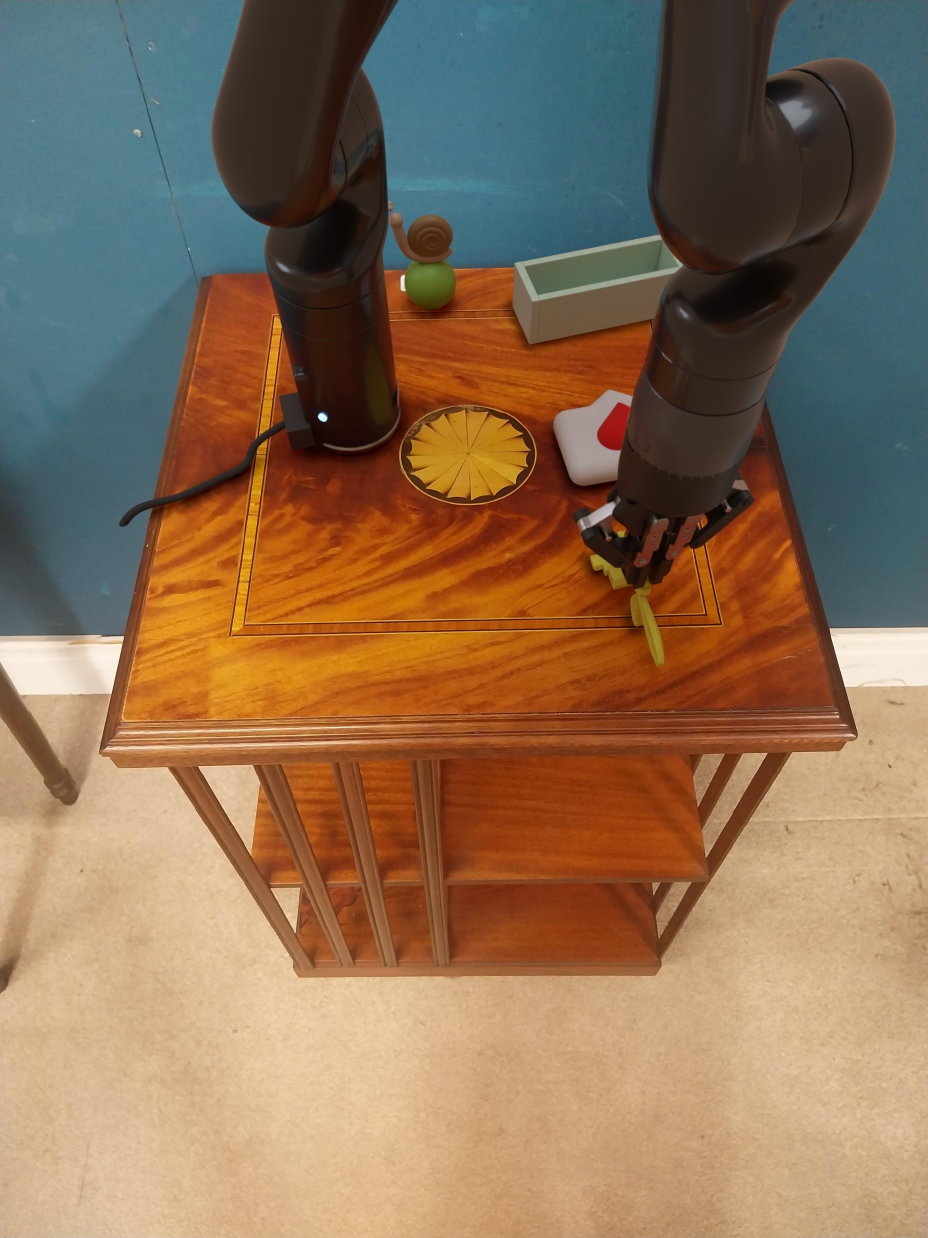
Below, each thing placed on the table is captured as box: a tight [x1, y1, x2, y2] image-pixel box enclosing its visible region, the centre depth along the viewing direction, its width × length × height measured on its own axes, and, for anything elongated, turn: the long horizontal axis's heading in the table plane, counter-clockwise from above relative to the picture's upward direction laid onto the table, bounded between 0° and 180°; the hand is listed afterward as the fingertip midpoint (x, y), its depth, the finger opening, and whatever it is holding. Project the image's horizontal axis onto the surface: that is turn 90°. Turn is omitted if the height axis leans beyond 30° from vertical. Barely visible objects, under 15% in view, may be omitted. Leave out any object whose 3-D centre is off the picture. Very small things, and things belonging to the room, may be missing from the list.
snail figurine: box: [388, 200, 457, 311], centre depth 86 cm, size 5×6×12 cm
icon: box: [552, 389, 633, 487], centre depth 80 cm, size 12×4×10 cm
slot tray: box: [512, 234, 683, 345], centre depth 88 cm, size 17×6×6 cm, turn 105°
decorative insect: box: [589, 530, 665, 668], centre depth 70 cm, size 13×3×10 cm
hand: (642, 576), depth 67 cm, fingers closed on decorative insect, 1 cm apart
